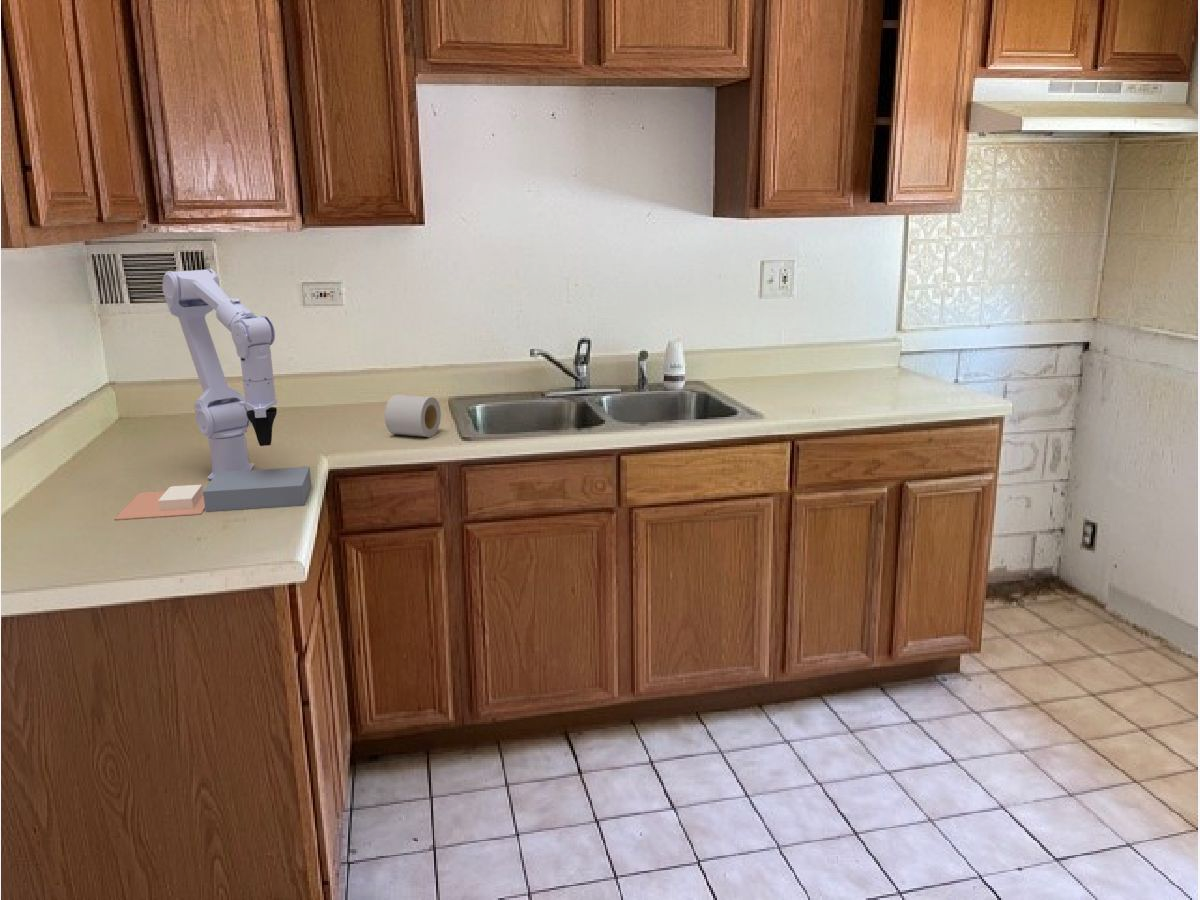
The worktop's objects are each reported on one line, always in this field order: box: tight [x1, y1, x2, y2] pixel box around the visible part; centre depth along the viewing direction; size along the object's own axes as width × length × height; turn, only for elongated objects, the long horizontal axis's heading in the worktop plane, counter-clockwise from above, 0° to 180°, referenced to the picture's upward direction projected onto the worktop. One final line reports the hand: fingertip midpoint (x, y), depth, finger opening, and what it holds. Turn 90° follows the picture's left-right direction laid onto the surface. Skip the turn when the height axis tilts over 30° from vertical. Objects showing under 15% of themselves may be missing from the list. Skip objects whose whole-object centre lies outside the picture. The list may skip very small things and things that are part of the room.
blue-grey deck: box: [203, 466, 312, 513], centre depth 178 cm, size 13×18×4 cm
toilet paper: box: [384, 394, 442, 438], centre depth 225 cm, size 10×10×10 cm
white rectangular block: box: [158, 484, 204, 511], centre depth 175 cm, size 9×6×2 cm, turn 11°
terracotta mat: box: [114, 488, 205, 521], centre depth 175 cm, size 16×15×1 cm
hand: (265, 444), depth 181 cm, fingers closed
